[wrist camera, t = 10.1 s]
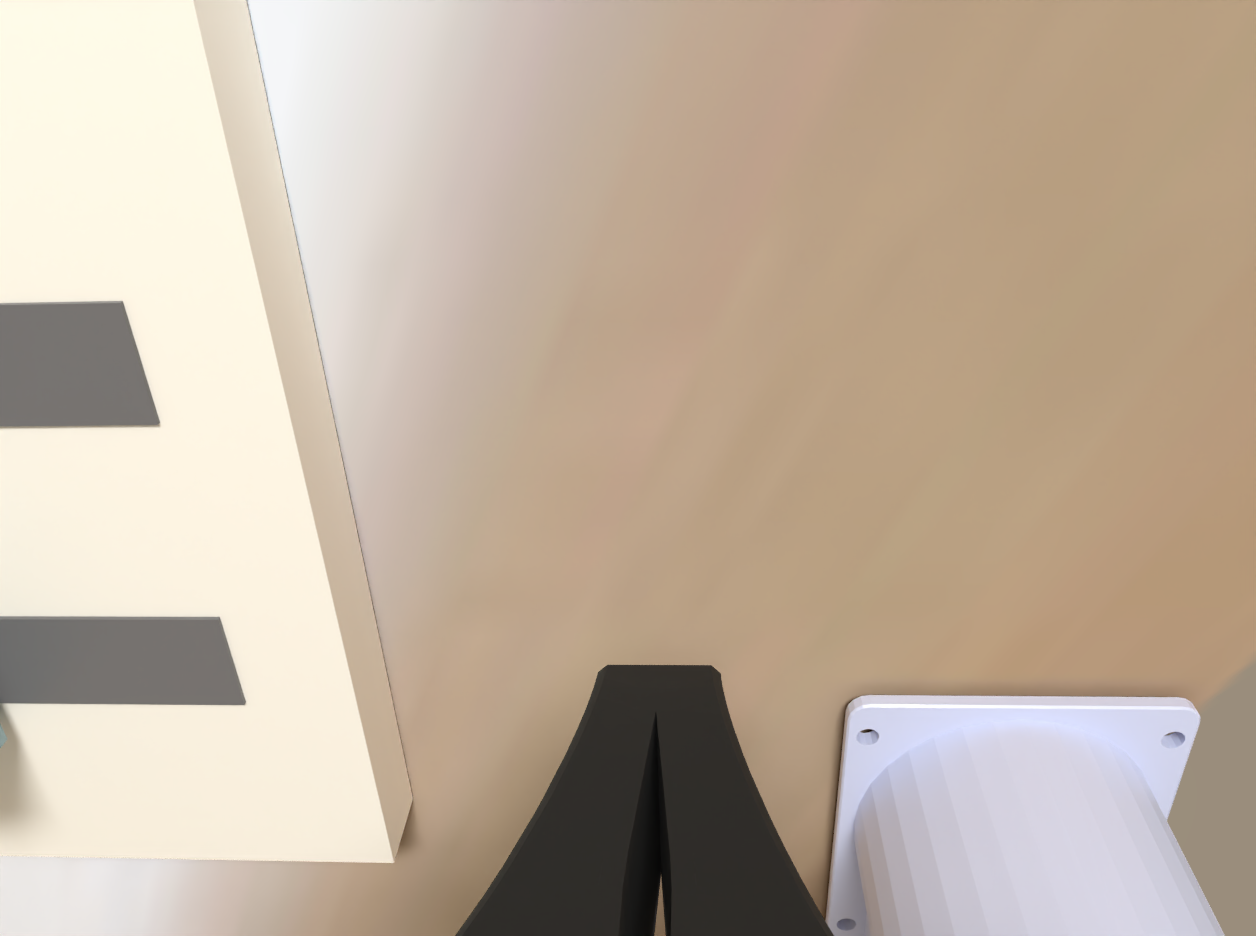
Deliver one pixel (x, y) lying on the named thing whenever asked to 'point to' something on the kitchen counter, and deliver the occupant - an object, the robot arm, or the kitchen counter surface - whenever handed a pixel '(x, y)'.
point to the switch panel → (171, 466)
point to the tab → (2, 736)
